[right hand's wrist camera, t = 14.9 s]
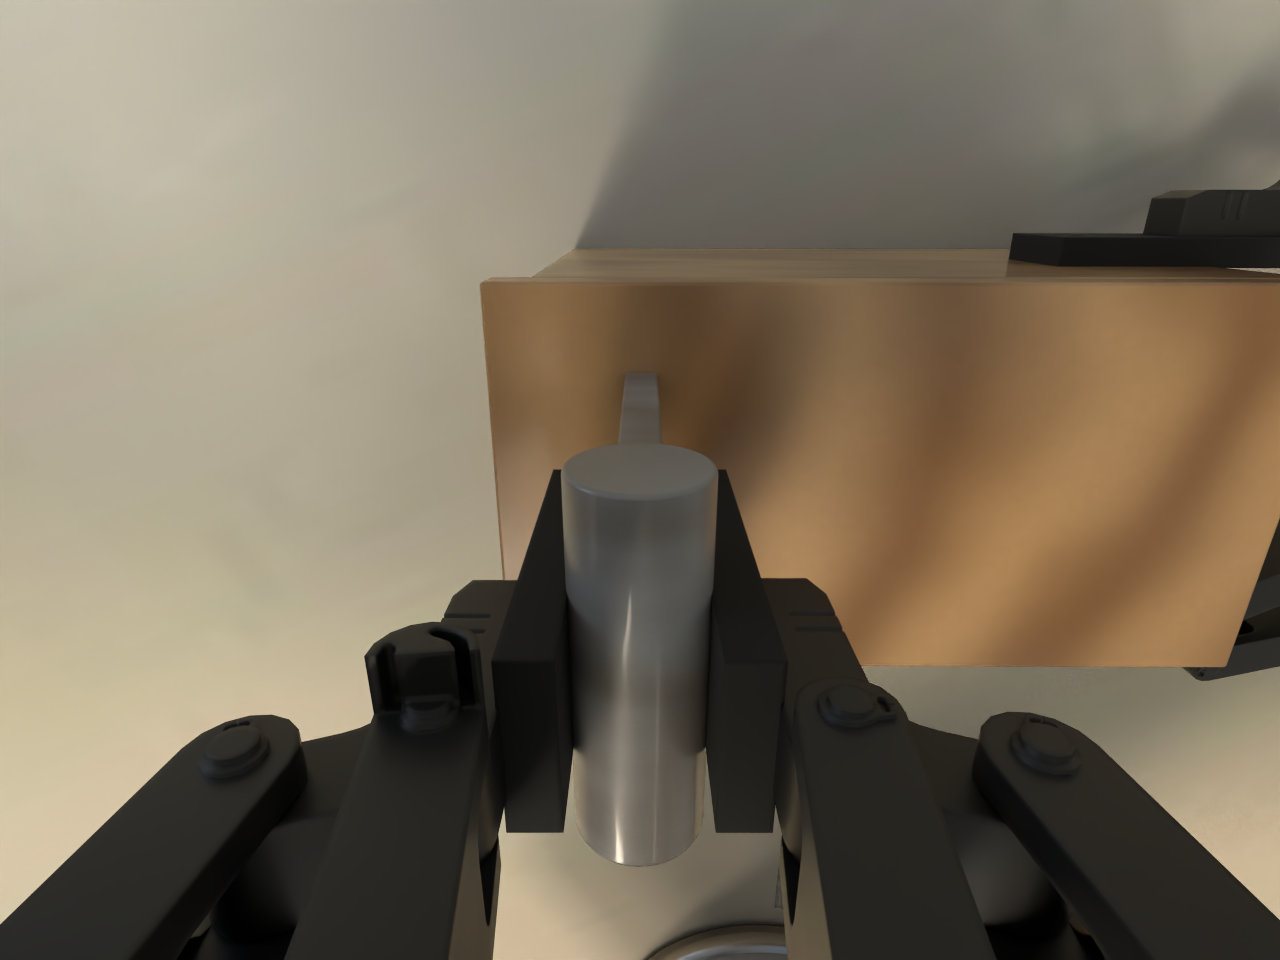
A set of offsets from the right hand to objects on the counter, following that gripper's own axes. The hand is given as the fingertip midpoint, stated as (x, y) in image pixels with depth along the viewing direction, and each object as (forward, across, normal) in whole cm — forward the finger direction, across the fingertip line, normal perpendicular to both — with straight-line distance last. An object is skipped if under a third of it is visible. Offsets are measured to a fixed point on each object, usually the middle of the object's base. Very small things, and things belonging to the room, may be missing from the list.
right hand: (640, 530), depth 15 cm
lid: (+3, -6, 0) cm, 7 cm away
